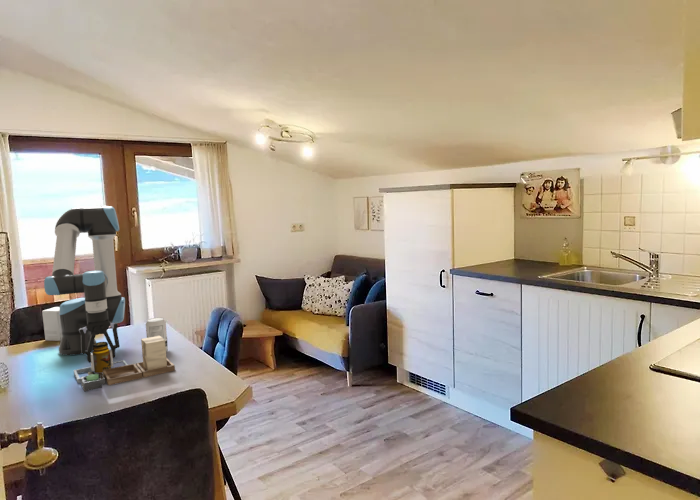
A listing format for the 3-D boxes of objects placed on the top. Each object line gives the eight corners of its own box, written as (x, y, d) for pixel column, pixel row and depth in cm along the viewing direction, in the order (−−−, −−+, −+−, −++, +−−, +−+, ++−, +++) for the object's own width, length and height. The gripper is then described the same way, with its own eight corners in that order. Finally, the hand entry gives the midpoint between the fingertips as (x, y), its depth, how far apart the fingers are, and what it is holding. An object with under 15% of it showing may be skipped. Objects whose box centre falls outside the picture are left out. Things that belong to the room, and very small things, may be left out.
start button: (86, 380, 186) (85, 375, 186) (98, 378, 188) (97, 373, 188) (87, 384, 183) (87, 378, 183) (99, 381, 185) (99, 376, 185)
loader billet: (143, 368, 199) (141, 338, 198) (161, 364, 203) (159, 335, 202) (148, 374, 193) (146, 343, 191) (167, 370, 197) (165, 340, 195)
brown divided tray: (102, 378, 193) (101, 370, 193) (166, 364, 207) (166, 356, 206) (108, 388, 183) (107, 380, 182) (175, 373, 196) (175, 365, 196)
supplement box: (74, 335, 254) (71, 306, 252) (60, 341, 245) (57, 311, 243) (59, 335, 256) (55, 306, 254) (44, 340, 247) (41, 310, 245)
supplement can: (143, 355, 220) (141, 321, 218) (157, 349, 228) (155, 316, 226) (158, 356, 217) (155, 322, 215) (172, 350, 224) (169, 317, 223)
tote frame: (73, 373, 199) (73, 370, 199) (124, 363, 210) (124, 359, 210) (78, 383, 189) (77, 379, 189) (131, 371, 199) (130, 368, 199)
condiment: (113, 373, 198) (110, 343, 197) (89, 378, 194) (86, 348, 192) (110, 368, 204) (108, 339, 203) (87, 372, 200) (84, 343, 198)
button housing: (81, 384, 187) (80, 377, 187) (102, 380, 191) (101, 372, 191) (84, 391, 181) (83, 383, 180) (105, 386, 185) (105, 378, 184)
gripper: (70, 316, 188) (76, 376, 191) (125, 308, 199) (130, 365, 201) (68, 313, 194) (74, 371, 197) (121, 305, 205) (126, 360, 207)
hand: (102, 368), depth 199 cm, fingers closed on condiment, 6 cm apart
